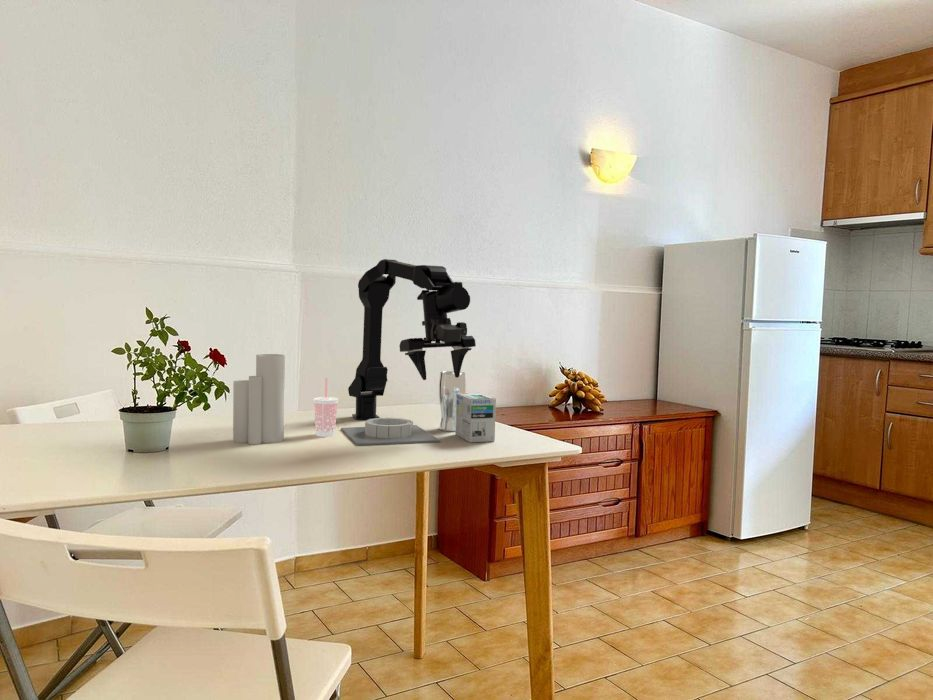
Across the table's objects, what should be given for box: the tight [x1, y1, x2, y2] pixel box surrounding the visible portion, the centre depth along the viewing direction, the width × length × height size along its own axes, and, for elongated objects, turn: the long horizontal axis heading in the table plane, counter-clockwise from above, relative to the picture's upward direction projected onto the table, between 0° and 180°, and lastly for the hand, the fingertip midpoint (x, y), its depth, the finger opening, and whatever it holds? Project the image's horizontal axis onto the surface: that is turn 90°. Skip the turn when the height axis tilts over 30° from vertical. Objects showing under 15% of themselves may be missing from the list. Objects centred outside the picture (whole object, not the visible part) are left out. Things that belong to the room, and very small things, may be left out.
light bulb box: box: [455, 392, 497, 443], centre depth 182 cm, size 11×7×11 cm, turn 22°
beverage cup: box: [312, 377, 339, 438], centre depth 180 cm, size 6×6×14 cm
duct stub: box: [340, 417, 441, 447], centre depth 181 cm, size 20×20×4 cm
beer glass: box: [438, 370, 466, 432], centre depth 192 cm, size 7×7×15 cm
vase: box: [232, 353, 286, 446], centre depth 170 cm, size 11×7×20 cm, turn 116°
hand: (441, 378), depth 180 cm, fingers open, 9 cm apart
